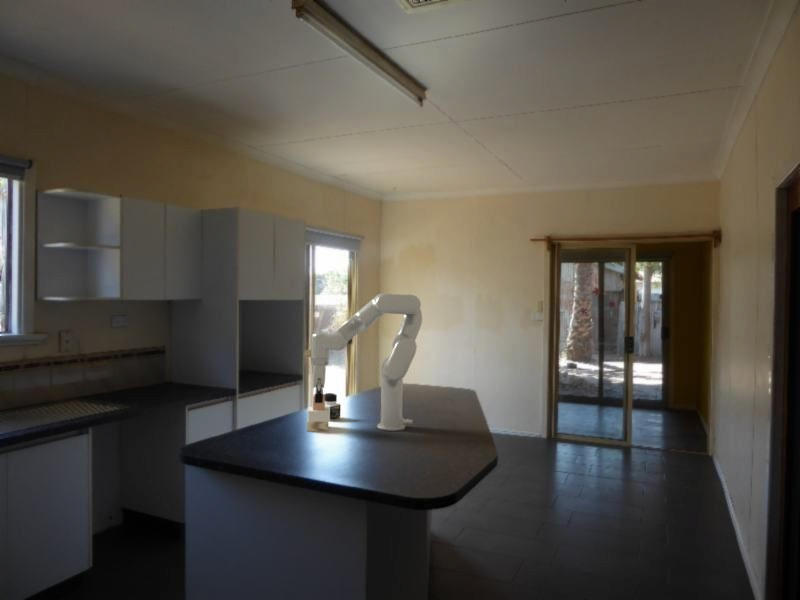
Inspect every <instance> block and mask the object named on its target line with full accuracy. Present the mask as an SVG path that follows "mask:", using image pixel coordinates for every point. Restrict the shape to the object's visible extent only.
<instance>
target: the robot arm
mask: <svg viewBox="0 0 800 600" xmlns="http://www.w3.org/2000/svg"><path fill="white" fill-rule="evenodd" d="M421 305H422V303H421V300H420V299H419V297H418V296H417V295H414V294H397V293H395V294H393V293H379V294H377V295H376V296H374V298H372V299H371V300H370V301H369V302H367V303H366V304H365V305H364V306H363V307H361V308H360V309H359V310H358V311H357V312H356V313H354V314H353V315H352V316H351V317H350V318H349V319H348V320H347V321H345V322H343V324H342V325H340V326H339V327H338V328H337V329H336V330H334V332H332V333H330V334H328V333H326V332H314V333H313V334H311V348H310V349H311V351H310V352H311V358H310V359H311V361H310V365H311V366H312V367H313V368H312V369H313V370H312V388H313V389H315V393H314V394H315V403H323V394H324V388H325V383H326V368H327V366H329V365H330V364H329V362H330V361H329V359H330V358H329V355H330V351H338V352H339V351H342V350H344V349H345V348H346V346H347V344H348V342H349V341H351V340H352V338H353V339H354V337H355V336H357V335H358V334H359V333H362V332H363V331H366V330H368V329H369V328H370V327H372V325H373V324H375V323H376V322H377V321H379V319H380V318H382V317H383V316H384V315H385V314H391V315H392V314H393V315H402V316H403V317H402V322H401V324H400V328H399V329H398V331H397V334H396V336H395V338H394V339H393V342H392V343H391V344H392V346H391V347H392V352H391V354H390V356H388V357H386V358H385V359H383V361H382V363H381V365H380V378H381V379H380V380H381V388H380V391H381V392H380V422H379V423H377V425H376V428H377V429H379V430H382V431H388V432H389V431H391V432H392V431H393V432H396V431H402V430H405V429H406V425H413V419H409V418H404V417H403V393H404V391H403V389H404V388H403V387H404V382H403V381H404V378H405V377H406V375H407V373H408V371H409V368H410V366H411V364H412V362H413V359H415V355H416V352H417V347H418V345H417V343H416V339H417V337H418V335H419V332H420V330H421V327H422V324H423V315H422V313H423V312H422V310H421Z"/></svg>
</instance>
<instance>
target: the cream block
mask: <svg viewBox="0 0 800 600" xmlns="http://www.w3.org/2000/svg"><path fill="white" fill-rule="evenodd" d="M329 415H330V411H329V407H325V410H313V406H308V407H307V419H308V422H328V423H329V422H330V421H329Z"/></svg>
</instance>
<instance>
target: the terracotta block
mask: <svg viewBox="0 0 800 600" xmlns="http://www.w3.org/2000/svg"><path fill="white" fill-rule="evenodd" d="M325 394H326V393H323V403H315V393H313V396H312V407H313V410H325Z"/></svg>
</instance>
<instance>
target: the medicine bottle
mask: <svg viewBox="0 0 800 600" xmlns="http://www.w3.org/2000/svg"><path fill="white" fill-rule="evenodd" d="M324 394H325V407H329V411H330V415H329V422H332V421H333V422H334V421H337V420H340V419H341V403H337V400H338V398H337V397H338V396H337V394H336V393H335V392H334V393H333V392H332V393H331V392H329V393H328V392H327V393H324Z"/></svg>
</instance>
